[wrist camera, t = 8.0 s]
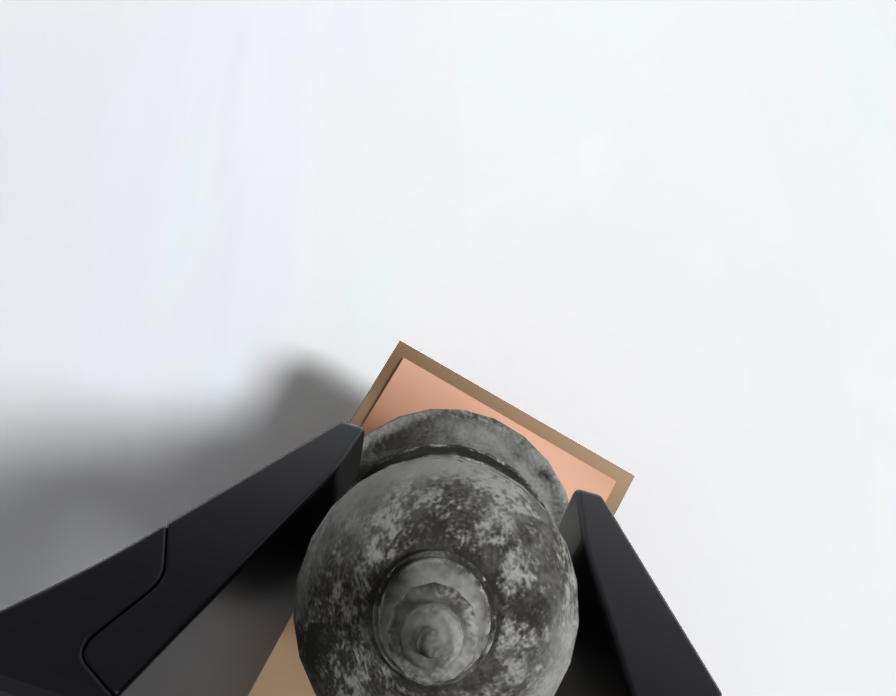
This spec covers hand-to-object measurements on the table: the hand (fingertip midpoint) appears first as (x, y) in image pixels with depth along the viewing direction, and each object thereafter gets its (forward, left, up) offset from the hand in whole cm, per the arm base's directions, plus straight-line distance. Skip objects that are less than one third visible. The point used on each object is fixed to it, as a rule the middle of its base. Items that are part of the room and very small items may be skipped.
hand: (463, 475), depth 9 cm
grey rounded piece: (-1, 0, -7) cm, 7 cm away
